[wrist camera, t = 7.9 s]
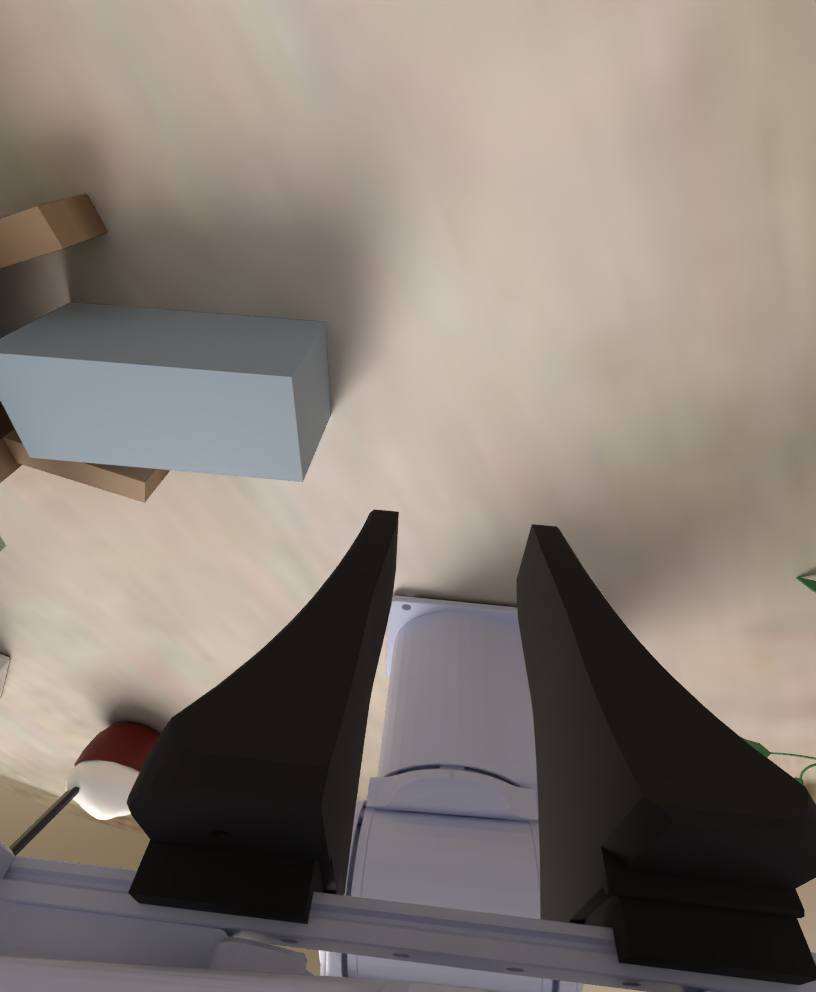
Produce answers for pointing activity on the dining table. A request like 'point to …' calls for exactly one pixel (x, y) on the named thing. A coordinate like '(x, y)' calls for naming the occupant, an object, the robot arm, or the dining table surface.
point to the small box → (3, 670)
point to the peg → (169, 389)
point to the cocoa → (101, 776)
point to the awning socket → (3, 446)
